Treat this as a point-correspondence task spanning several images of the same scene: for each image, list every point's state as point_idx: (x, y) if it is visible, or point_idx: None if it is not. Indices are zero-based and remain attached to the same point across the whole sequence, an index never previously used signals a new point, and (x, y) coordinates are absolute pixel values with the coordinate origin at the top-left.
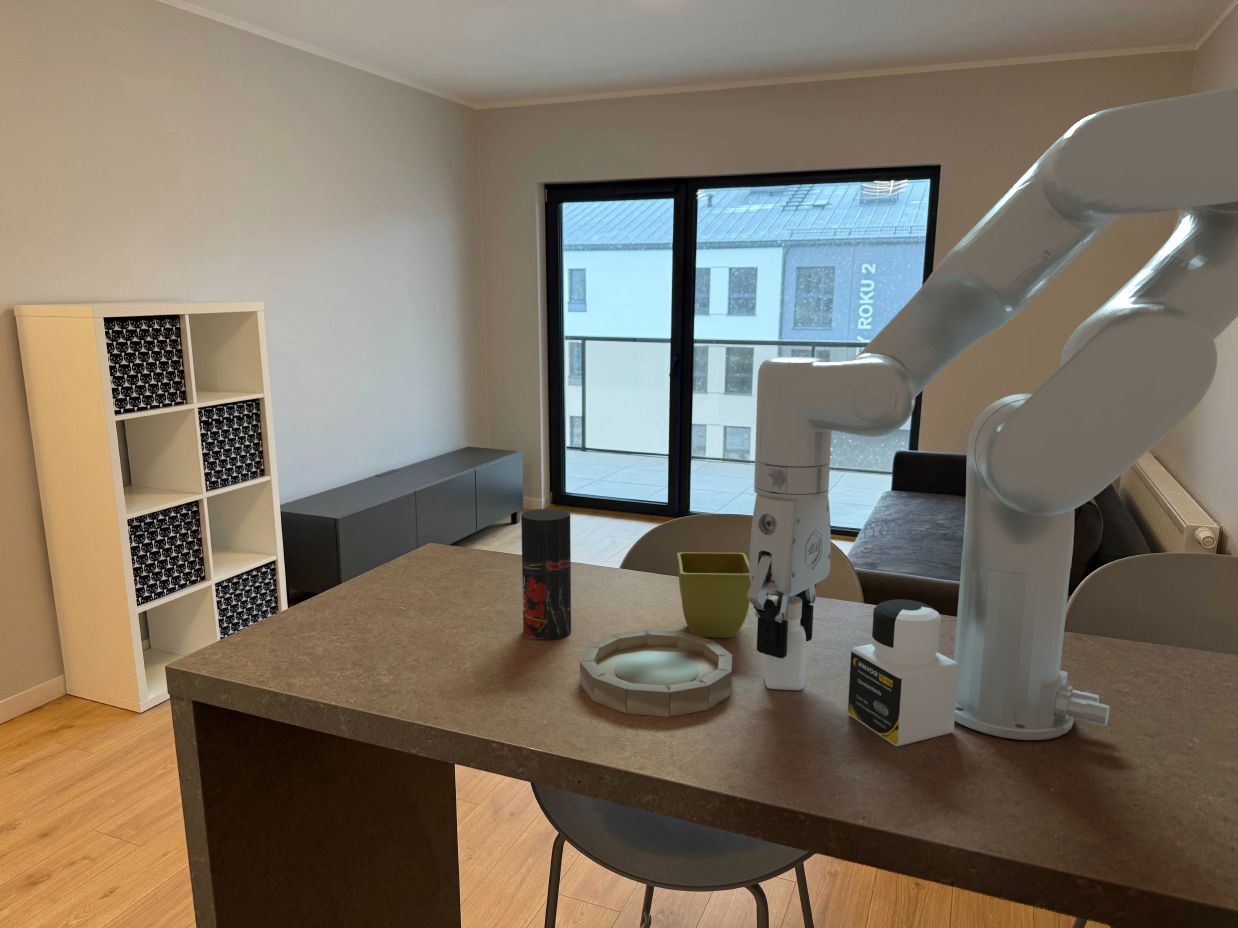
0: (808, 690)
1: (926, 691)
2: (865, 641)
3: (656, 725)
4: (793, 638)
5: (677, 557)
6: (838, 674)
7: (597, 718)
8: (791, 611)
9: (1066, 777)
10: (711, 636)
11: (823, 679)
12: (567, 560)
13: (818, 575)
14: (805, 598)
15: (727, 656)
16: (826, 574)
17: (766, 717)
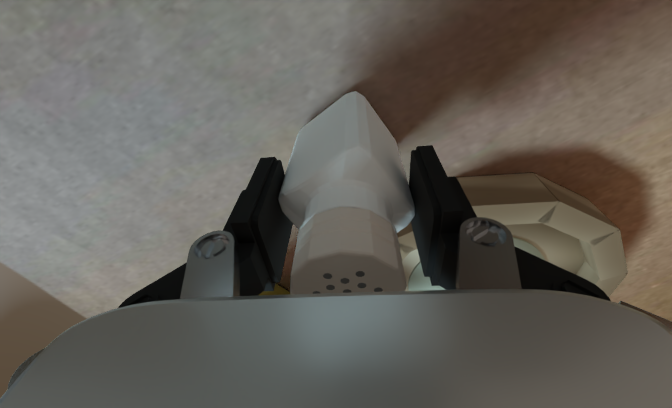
0: (338, 81)
1: None
2: (26, 123)
3: (626, 196)
4: (384, 168)
5: None
6: (215, 75)
7: (626, 256)
8: (380, 238)
9: None
10: (287, 291)
11: (265, 86)
12: None
13: (230, 343)
14: (242, 261)
15: (405, 241)
16: (119, 321)
17: (517, 76)
